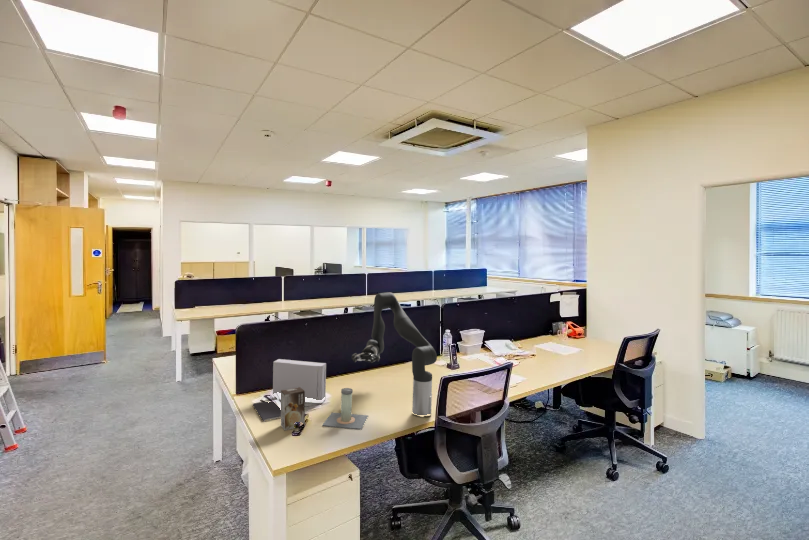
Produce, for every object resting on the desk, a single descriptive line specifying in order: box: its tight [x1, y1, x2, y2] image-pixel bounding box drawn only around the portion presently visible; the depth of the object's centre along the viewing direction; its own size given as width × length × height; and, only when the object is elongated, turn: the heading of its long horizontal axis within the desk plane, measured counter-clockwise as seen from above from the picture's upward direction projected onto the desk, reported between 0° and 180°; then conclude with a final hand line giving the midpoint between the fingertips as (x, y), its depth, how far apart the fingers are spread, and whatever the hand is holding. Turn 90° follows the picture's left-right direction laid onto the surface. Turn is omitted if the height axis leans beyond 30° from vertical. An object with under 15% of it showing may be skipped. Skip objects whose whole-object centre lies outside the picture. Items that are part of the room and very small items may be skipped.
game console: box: [272, 358, 327, 400], centre depth 200 cm, size 6×27×20 cm, turn 78°
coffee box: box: [280, 387, 306, 431], centre depth 170 cm, size 9×6×16 cm
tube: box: [340, 387, 354, 422], centre depth 177 cm, size 5×5×14 cm
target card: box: [321, 411, 369, 430], centre depth 177 cm, size 18×14×1 cm
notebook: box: [252, 401, 281, 422], centre depth 186 cm, size 13×2×21 cm
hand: (362, 360), depth 194 cm, fingers open, 8 cm apart
